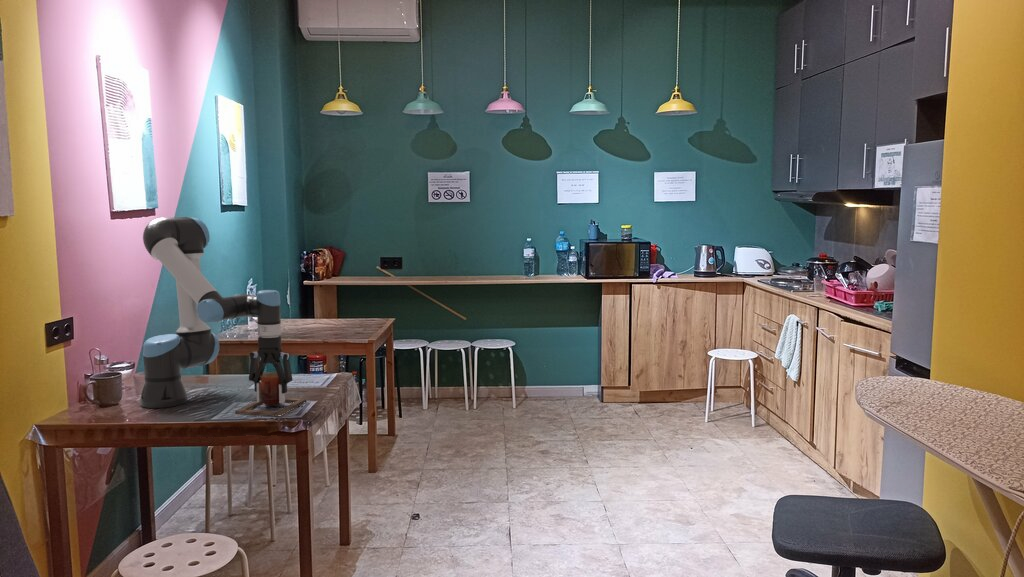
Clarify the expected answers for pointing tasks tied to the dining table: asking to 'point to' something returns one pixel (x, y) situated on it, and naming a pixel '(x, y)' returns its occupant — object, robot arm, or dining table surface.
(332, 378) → the dining table surface
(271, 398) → the mug
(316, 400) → the dining table surface
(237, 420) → the dining table surface
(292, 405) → the frame
